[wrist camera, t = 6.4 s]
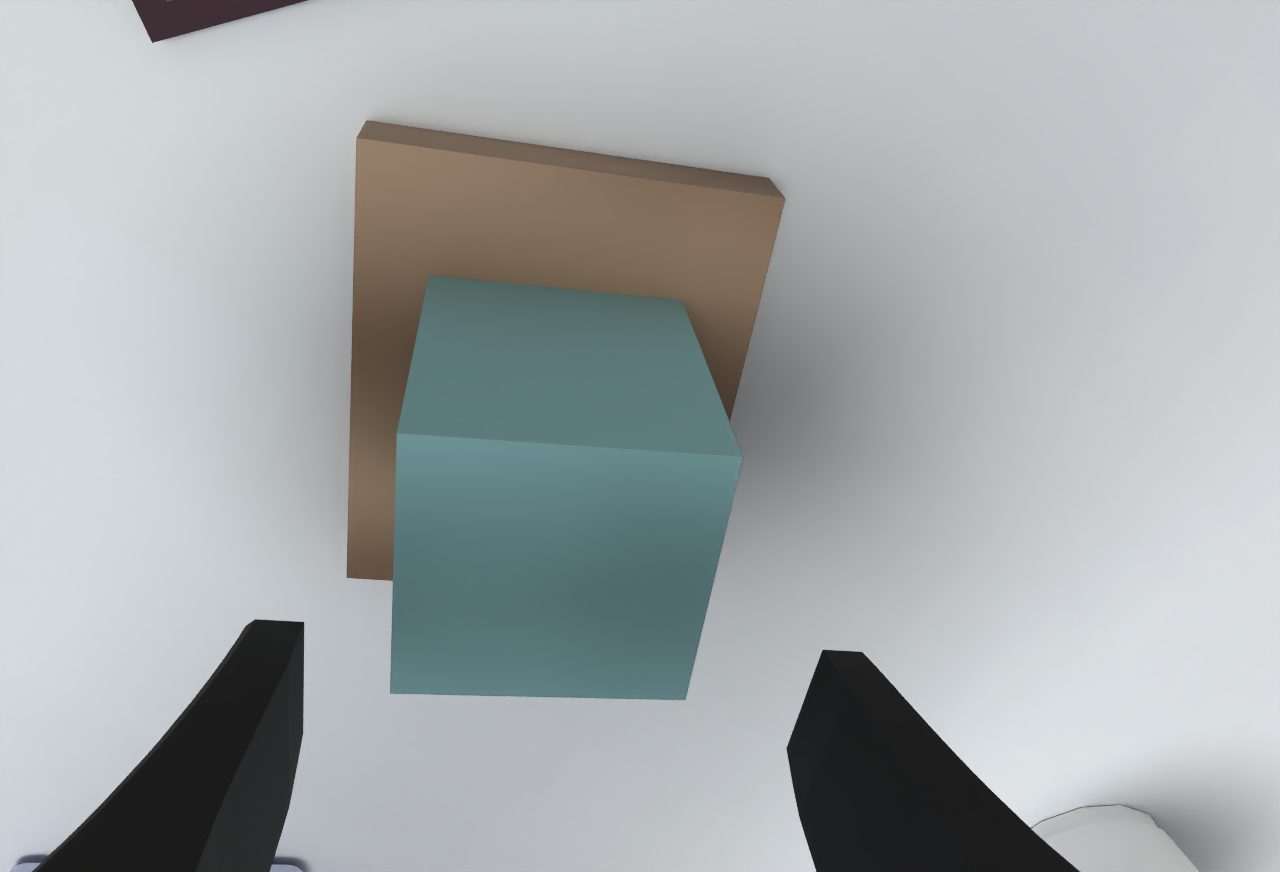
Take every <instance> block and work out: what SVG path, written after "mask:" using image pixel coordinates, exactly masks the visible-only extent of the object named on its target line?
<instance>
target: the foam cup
mask: <svg viewBox="0 0 1280 872" xmlns="http://www.w3.org/2000/svg"><path fill="white" fill-rule="evenodd" d="M1031 829H1032V830H1033V831H1034V832H1035V833H1036V834H1037V835H1038V836H1040V837H1041V838H1042V839H1043V840H1044V841H1045V842H1046V843H1047V844H1048V845H1050V846H1051V847H1052V848H1053V849H1054V850H1055V851H1057V852H1058V853H1059V854H1060V855H1061V856H1063V857H1064V858H1065V859H1066V860H1067V861H1068V862H1070V863H1071V864H1072V865H1073V866H1074V867H1075V868H1077V869H1078V870H1079V871H1080V872H1199V870H1198V869H1197V868H1196V867H1195V866H1194V865H1193V864H1192V862H1191V861H1190V860H1189V859H1188V858H1187V857H1186V856H1185V854H1184V853H1183V852H1182V851H1181V850H1180V849H1179V847H1178V846H1177V845H1176V844H1175V843H1174V842H1173V841H1172V839H1171V838H1170V837H1169V836H1168V835H1167V834H1166V833H1165V831H1164V830H1163V829H1160V828H1158V827H1157V825H1156V824H1155V822H1154V821H1153V819H1152V818H1151V816H1150V815H1149V814H1146V813H1143V812H1140V811H1137V810H1134V809H1131V808H1128V807H1125V806H1122V805H1113V806H1097V807H1082V808H1079V809H1076V810H1073V811H1070V812H1068V813H1065V814H1062V815H1059V816H1056V817H1053V818H1050V819H1047V820H1045V821H1042V822H1040V823H1039V824H1037V825H1036V826H1034V827H1033V828H1031Z"/></svg>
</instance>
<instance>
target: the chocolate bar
mask: <svg viewBox="0 0 1280 872" xmlns="http://www.w3.org/2000/svg"><path fill="white" fill-rule="evenodd" d="M132 1H133V3H134V5H135V8H136V10H137V12H138V14H139V16H140V18H141V20H142V22H143V24H144V26H145V29H146V31H147V33H148V35H149V37H150V39H151V41H152V43H153V42H157V41H161V40H164V39H168V38H172V37H175V36H179V35H183V34H186V33H190V32H194V31H197V30H201V29H205V28H208V27H212V26H216V25H219V24H223V23H226V22H230V21H234V20H237V19H241V18H245V17H248V16H252V15H256V14H259V13H263V12H267V11H270V10H274V9H278V8H281V7H285V6H289V5H292V4H296V3H300V2H303V1H307V0H132Z"/></svg>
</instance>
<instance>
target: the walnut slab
mask: <svg viewBox="0 0 1280 872" xmlns="http://www.w3.org/2000/svg"><path fill="white" fill-rule="evenodd" d="M784 202H785V198H784V196H783V195H782V194H781V193H780V191H779V190H778V189H777V188H776V186H775V185H774V184H773V183H772V181H771V180H770V179H769V178H764V177H757V176H750V175H743V174H736V173H729V172H722V171H715V170H708V169H701V168H694V167H687V166H680V165H673V164H666V163H659V162H652V161H645V160H638V159H631V158H624V157H617V156H610V155H603V154H596V153H589V152H582V151H575V150H568V149H561V148H554V147H547V146H540V145H533V144H526V143H519V142H512V141H505V140H498V139H491V138H484V137H477V136H470V135H463V134H456V133H449V132H442V131H435V130H428V129H421V128H414V127H408V126H401V125H394V124H387V123H380V122H373V121H366V123H365V124H364V126H363V128H362V129H361V131H360V133H359V135H358V136H357V141H356V185H355V230H354V274H353V319H352V363H351V408H350V452H349V497H348V541H347V578H358V579H374V580H391V581H393V563H394V525H395V486H396V447H397V430H398V425H399V420H400V415H401V410H402V406H403V401H404V396H405V391H406V386H407V381H408V376H409V371H410V366H411V361H412V356H413V351H414V346H415V342H416V337H417V332H418V327H419V322H420V317H421V312H422V307H423V302H424V297H425V292H426V287H427V282H428V277H429V275H432V276H442V277H452V278H462V279H472V280H483V281H493V282H503V283H513V284H523V285H533V286H544V287H554V288H564V289H574V290H584V291H595V292H605V293H615V294H625V295H635V296H645V297H656V298H666V299H676V300H682V302H683V304H684V307H685V309H686V312H687V314H688V317H689V320H690V322H691V325H692V327H693V330H694V332H695V335H696V337H697V340H698V343H699V345H700V348H701V350H702V353H703V355H704V358H705V360H706V363H707V366H708V368H709V371H710V373H711V376H712V378H713V381H714V383H715V386H716V389H717V391H718V394H719V396H720V399H721V401H722V404H723V406H724V409H725V412H726V414H727V417H728V419H729V422H730V418H731V414H732V410H733V406H734V402H735V398H736V394H737V390H738V386H739V382H740V378H741V374H742V370H743V366H744V362H745V358H746V354H747V350H748V346H749V342H750V338H751V334H752V330H753V326H754V322H755V318H756V314H757V310H758V306H759V302H760V298H761V294H762V290H763V286H764V282H765V278H766V274H767V270H768V266H769V262H770V258H771V254H772V250H773V246H774V242H775V238H776V234H777V230H778V226H779V222H780V218H781V214H782V210H783V206H784Z"/></svg>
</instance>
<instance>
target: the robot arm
mask: <svg viewBox="0 0 1280 872" xmlns="http://www.w3.org/2000/svg"><path fill="white" fill-rule="evenodd" d="M303 688H304V622H292V621H273V620H254V621H252V622H251V623H249V624H248V625H246V627H245V628H244V630H243V631H242V633H241V634H240V636H239V638H238V639H237V641H236V642H235V644H234V645H233V646H232V648H231V649H230V651H229V652H228V654H227V655H226V657H225V658H224V659H223V661H222V662H221V664H220V665H219V666H218V668H217V669H216V670H215V672H214V673H213V674H212V676H211V677H210V678H209V680H208V681H207V682H206V684H205V685H204V686H203V688H202V689H201V690H200V691H199V693H198V694H197V695H196V697H195V698H194V699H193V701H192V702H191V703H190V704H189V705H188V707H187V708H186V709H185V710H184V711H183V713H182V714H181V715H180V716H179V717H178V719H177V720H176V721H175V722H174V724H173V725H172V726H171V727H170V728H169V730H168V731H167V732H166V733H165V734H164V736H163V737H162V738H161V739H160V741H159V742H158V743H157V744H156V745H155V746H154V747H153V749H152V750H151V751H150V752H149V753H148V754H147V755H146V756H145V758H144V759H143V760H142V761H141V762H140V763H139V764H138V765H137V766H136V767H135V768H134V770H133V771H132V772H131V773H130V774H129V775H128V776H127V777H126V778H125V779H124V780H123V781H122V783H121V784H120V785H119V786H118V787H117V788H116V789H115V790H114V791H113V792H112V793H111V795H110V796H109V797H108V798H107V799H106V800H105V801H104V802H103V803H102V804H101V805H100V806H99V807H98V808H97V809H96V810H95V811H94V812H93V813H92V814H91V815H90V816H89V817H88V818H87V819H86V820H85V821H84V822H83V823H82V824H81V825H80V826H79V827H78V828H77V829H76V830H75V831H74V832H73V833H72V834H71V835H70V836H69V837H68V838H67V839H66V840H65V841H64V842H63V843H62V844H61V845H60V846H59V847H57V848H56V849H55V850H54V851H53V852H52V853H51V854H50V855H49V856H48V857H47V858H46V859H45V860H44V861H43V862H42V863H22V864H19V865H16V866H14V867H13V868H12V869H11V871H10V872H303V871H302V870H300V869H299V868H298V867H296V866H293V865H272V863H273V859H274V856H275V853H276V849H277V846H278V843H279V839H280V836H281V833H282V829H283V826H284V823H285V819H286V816H287V813H288V809H289V805H290V800H291V795H292V789H293V784H294V779H295V774H296V769H297V763H298V758H299V752H300V747H301V741H302V736H303ZM787 753H788V759H789V765H790V771H791V777H792V782H793V788H794V793H795V798H796V803H797V807H798V812H799V817H800V820H801V824H802V827H803V830H804V834H805V837H806V840H807V843H808V846H809V849H810V852H811V856H812V859H813V862H814V865H815V868H816V871H817V872H1080V871H1079V870H1078V869H1077V868H1075V867H1074V866H1073V865H1072V864H1071V863H1070V862H1068V861H1067V860H1066V859H1065V858H1064V857H1063V856H1061V855H1060V854H1059V853H1058V852H1057V851H1055V850H1054V849H1053V848H1052V847H1051V846H1050V845H1048V844H1047V843H1046V842H1045V841H1044V840H1043V839H1042V838H1041V837H1040V836H1038V835H1037V834H1036V833H1035V832H1034V831H1033V830H1032V829H1031V828H1030V827H1029V826H1027V825H1026V824H1025V823H1024V822H1023V821H1022V820H1021V819H1020V818H1019V817H1018V816H1017V815H1016V814H1015V813H1014V812H1013V811H1012V810H1011V809H1010V808H1009V807H1008V806H1007V805H1006V804H1005V803H1003V802H1002V801H1001V800H1000V799H999V798H998V797H997V796H996V795H995V794H994V793H993V792H992V791H991V790H990V789H989V788H988V787H987V786H986V785H985V784H984V783H983V782H982V781H981V780H980V779H979V778H978V777H977V776H976V775H975V774H974V773H973V772H972V771H971V770H970V769H969V768H968V767H967V765H966V764H965V763H964V762H963V761H962V760H961V759H960V758H959V757H958V756H957V755H956V754H955V753H954V752H953V751H952V750H951V749H950V748H949V746H948V745H947V744H946V743H945V742H944V741H943V740H942V739H941V738H940V737H939V736H938V735H937V734H936V732H935V731H934V730H933V729H932V728H931V727H930V726H929V725H928V724H927V723H926V722H925V720H924V719H923V718H922V717H921V716H920V715H919V714H918V713H917V712H916V710H915V709H914V708H913V707H912V706H911V705H910V704H909V703H908V702H907V701H906V699H905V698H904V697H903V696H902V695H901V694H900V693H899V692H898V690H897V689H896V688H895V687H894V686H893V685H892V684H891V683H890V682H889V680H888V679H887V678H886V677H885V676H884V675H883V674H882V673H881V672H880V671H879V669H878V668H877V667H876V666H875V665H874V664H873V663H872V662H871V661H870V660H869V659H868V658H867V657H866V656H865V655H864V654H863V653H862V652H853V651H834V650H822V653H821V656H820V659H819V661H818V664H817V667H816V670H815V672H814V675H813V678H812V680H811V683H810V686H809V689H808V691H807V694H806V697H805V700H804V702H803V705H802V708H801V710H800V713H799V716H798V719H797V721H796V724H795V727H794V730H793V732H792V735H791V738H790V740H789V743H788V746H787Z"/></svg>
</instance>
